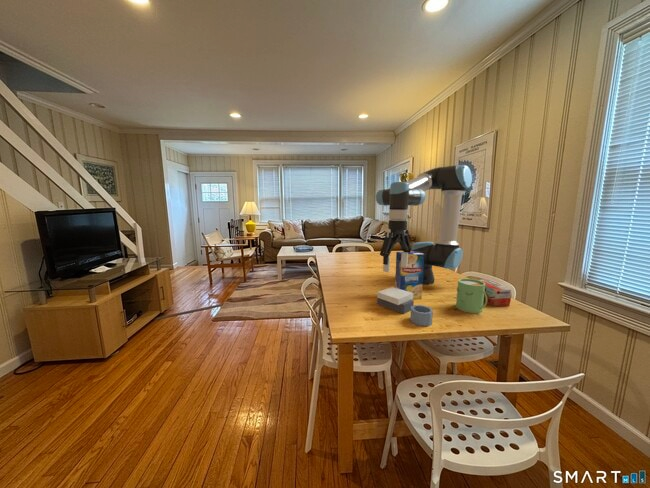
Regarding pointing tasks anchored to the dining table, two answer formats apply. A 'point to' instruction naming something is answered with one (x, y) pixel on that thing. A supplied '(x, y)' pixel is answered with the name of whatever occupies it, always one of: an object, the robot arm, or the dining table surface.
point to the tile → (395, 295)
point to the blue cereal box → (410, 273)
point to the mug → (470, 295)
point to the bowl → (421, 315)
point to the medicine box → (496, 294)
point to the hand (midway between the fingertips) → (395, 269)
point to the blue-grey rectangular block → (400, 308)
